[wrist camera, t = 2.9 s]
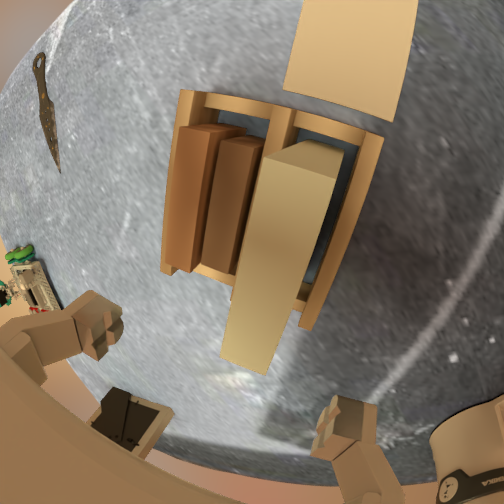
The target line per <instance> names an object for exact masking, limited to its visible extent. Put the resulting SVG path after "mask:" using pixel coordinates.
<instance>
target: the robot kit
mask: <svg viewBox="0 0 504 504" xmlns="http://www.w3.org/2000/svg"><path fill="white" fill-rule="evenodd" d="M32 251H33V247H32V246H31V245H29V246H26V247H21V248H16V249H14V250H13V249H11V251H10V252H9V253H7V254H6V255H5V259H6V260H9V261H8V264H11V263H13V262H15V263H14V264H15V265H13V266H12V267H11V268H10V270H11V271H12V274H13V277H14V278H13V279H11V280H10V281H8V285H9V286H10V287H8V285H7V284H4V283H3V282H2V281H0V289H1V290H0V307H2V306H3V305H5V304H7V305H8V306H9V305H10V304H11V298H12V297H13V296H14V298H15V299H16V300H17V299H18V298H19V297H21V296H22V297H23V298H24V301H26V300H27V302H28V304H29V305H30V306H31V307H30V308H29V312H30V314H31V315H32V314H37V313H42V312H47V311H52V310H57V309H60V307H59V305H58V303H57V301H56V299H55V297H54V294H53V292H52V290H51V288H50V286H49V283H48V281H47V279H46V277H45V274H44V272H43V269H42V267H41V265H40V262H39V261H35V262H31V261H28V259H30V258H31V257H33V256H34V255H35V254H34V253H31V252H32ZM29 253H30V254H29ZM10 259H11V260H10ZM24 261H25V263H24ZM35 265H36V267H35ZM21 267H22V268H21ZM37 267H38V268H37ZM12 269H13V270H12ZM22 269H24V270H23V271H22ZM31 269H33V270H34V272H35V273H34V272H33V271H32V270H31ZM37 269H38V271H37ZM14 270H15V271H14ZM16 270H17V271H16ZM39 270H40V272H39ZM18 271H19V272H18ZM13 272H14V273H13ZM20 272H21V273H20ZM41 272H42V273H41ZM15 273H16V274H15ZM17 273H18V274H17ZM38 273H39V275H38ZM40 274H42V275H40ZM34 275H35V276H34ZM40 277H41V279H40ZM42 278H43V280H42ZM44 279H45V280H44ZM13 280H15V281H14V282H11V281H13ZM41 281H43V282H41ZM10 282H11V283H10ZM44 282H45V283H44ZM14 283H16V284H17V286H18V288H19V291H18V292H16V291H15V292H14V290H13V287H14ZM19 283H20V284H19ZM46 283H47V284H46ZM41 284H42V285H41ZM19 285H20V286H19ZM43 285H44V286H43ZM6 286H7V287H6ZM46 286H47V287H46ZM2 289H3V290H2ZM11 289H12V290H13V291H12V290H11ZM45 289H46V290H45ZM47 290H49V291H47ZM47 292H48V294H47ZM20 293H21V294H20ZM49 293H50V295H49ZM18 294H20V295H19V296H18ZM51 294H52V295H51ZM48 296H49V297H48ZM51 297H52V298H51ZM25 298H26V300H25ZM50 300H51V301H50ZM53 301H54V302H53ZM52 303H53V305H52ZM54 304H55V306H54ZM56 305H57V306H56ZM54 307H55V309H54ZM56 308H57V309H56ZM60 310H61V309H60Z"/></svg>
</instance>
